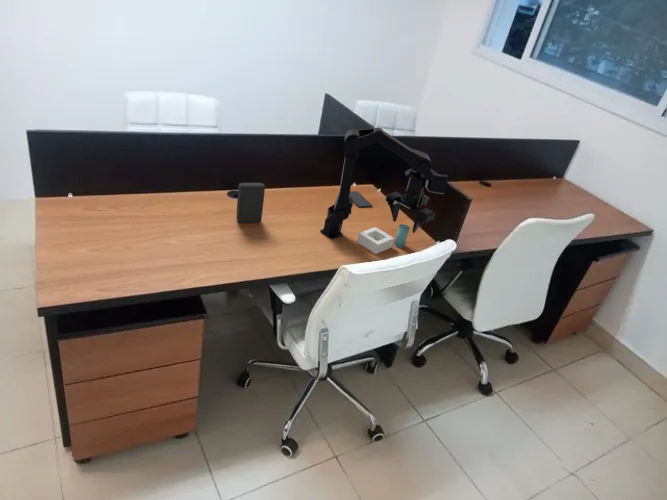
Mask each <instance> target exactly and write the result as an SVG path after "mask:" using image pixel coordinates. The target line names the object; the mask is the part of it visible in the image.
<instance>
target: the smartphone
mask: <svg viewBox="0 0 667 500" xmlns="http://www.w3.org/2000/svg"><path fill="white" fill-rule="evenodd" d="M349 197H353V205H354V206H356V208H359V209H360V208H361V209H363V208H373V203H371V202H370V201H368V200H367V198H365V197H364V196H363V195H362V194H361V193H360V192H359V191H356V190H355V191H354V190H353V191H351V190H350V194H349Z"/></svg>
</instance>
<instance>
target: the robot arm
mask: <svg viewBox="0 0 667 500" xmlns="http://www.w3.org/2000/svg"><path fill="white" fill-rule="evenodd" d="M374 144H379V145H381V146H382V147H385V148H386V149H387V150H389V151H391V152H392V153H393V154H395V155H397V156H398V157H400V158H401V159H403V160H404V161H406V163H407V164H408V165H409V166H410V168H409V169H408V170H406V171H404V172H405V176H406V177H408V178H409V179H408V182H407V186H406V188H405V189H404V190H403V194H404V195H403V194H402V193H399V192H398V191H394V192H390V193H388V194H387V195H386V197H385V202H387V205H388V206H389V209H390V212H391V213H390V214H391V216H392V221H393V222H394V223H395V222H397V219H398V216H399V212H400V208H401V207H402V206H404V207H405V208H407V209H409V210H410V211H412V212H414V213H416V217H415V218H414V222H413V226H412V234H414V233H416V232H417V230H418V229H419V228H420V227H421V226H422V224H423V223H427V222H431V221H433V220H434V219H435V216H436V214H435V212H434V211H433V210H432V209H429V208H427V207H426V208H420V207H423V205H424V206H427V205H428V202H429V200H430V197H429V196H427V195H425V192H424V188H425V189H426V190H427V192H428V193H433V194H439V195H440V194H441V195H445V194H446V192H447V190H448V180H449V176H448V174H439V173H434V172H433V170H432V167H433V165H432V161H431V159H430V156H429V155H428V154H427V153H426V152H423V151H421V150H418V149H414V148H411V147H409V146H408V145H406V144H405V143H403V142H402V141H400V140H399V139H397V138H396V137H394V136H393V135H391V134H389V133H387V132H386V131H385V130H383V128H381V127H373V128H363V129H355V128H354V129H353V128H352V129H349V130H347V131H346V132H345V135H344V161H343V168H342V173H341V179H340V185H339V192H338V194H337V196H336V198H335V200H334V201H335V202H334V204H333V205H331V206H329V207H328V208H327V213H326V218H325V219H324V224H323V229H320V231H319V232H320V233H321V234H322V235H324V236H326V237H327V238H329V239H331V240H333V239H336V238H338V237H341V236H342V237H343V235H344V233H343V232H342V228H343V227H342V226H343V222H344V221H345V220H347V219H348V218H349V216H350V215H352V208H353V205H354V203H353V197H349V194H350V191H351V187H352V183H353V182H352V181H353V177H354V176H353V175H354V169H355V165H356V160H357V158H358V155H359V154H360V151H361V149H362V148H366V147H368V146H371V145H374Z"/></svg>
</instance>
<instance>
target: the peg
mask: <svg viewBox="0 0 667 500" xmlns="http://www.w3.org/2000/svg"><path fill="white" fill-rule="evenodd" d="M409 232H410V226H409V225H407V224H405V223H401V224H399V225H398V229H397V232H396V236H395V238H394V241H393V244H394V246H395V247H397V248H399V249H402V248H405V246H406V243H407V242H406V241H407V239H408V236H409Z"/></svg>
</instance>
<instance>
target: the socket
mask: <svg viewBox="0 0 667 500" xmlns="http://www.w3.org/2000/svg"><path fill="white" fill-rule="evenodd" d="M394 242H395V238H394V237H393V236H391V235H390V234H387V233H386V232H385V231H383V230H381V229H380V228H378V227H377V226H374V227H372V228H369V229H366V230H364V231H360V232H359V233H358V236H357V240H356V243H358V244H359V245H361V246H362V247H364V248H365V249H367V250H368V251H370V252H371V253H373V254H375V255H377V254H379V253H382V252H384V251H386V250H389V249H391V248H392V247H393V244H394Z"/></svg>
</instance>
